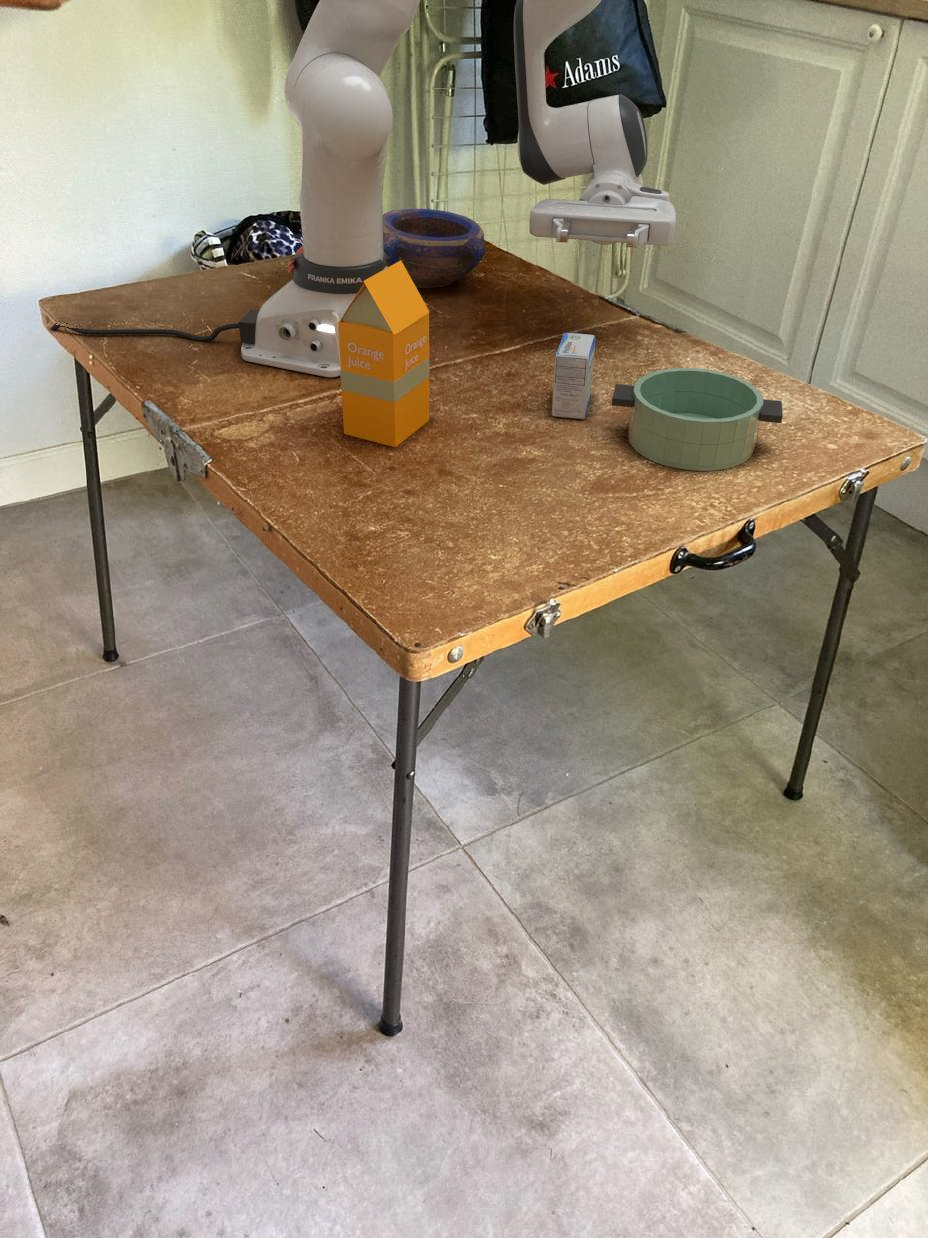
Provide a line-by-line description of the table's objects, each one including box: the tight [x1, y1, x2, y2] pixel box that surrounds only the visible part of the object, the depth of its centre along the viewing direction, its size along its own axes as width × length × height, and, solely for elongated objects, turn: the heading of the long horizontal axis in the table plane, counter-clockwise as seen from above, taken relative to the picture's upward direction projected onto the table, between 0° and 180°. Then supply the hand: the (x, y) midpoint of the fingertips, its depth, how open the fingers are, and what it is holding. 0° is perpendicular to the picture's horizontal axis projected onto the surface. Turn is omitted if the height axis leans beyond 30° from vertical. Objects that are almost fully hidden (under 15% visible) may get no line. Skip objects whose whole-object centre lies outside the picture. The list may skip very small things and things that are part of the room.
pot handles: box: [611, 383, 784, 424], centre depth 131 cm, size 20×4×1 cm, turn 78°
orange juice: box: [338, 261, 431, 448], centre depth 130 cm, size 8×9×20 cm
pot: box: [627, 367, 764, 472], centre depth 132 cm, size 16×16×6 cm
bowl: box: [383, 208, 486, 289], centre depth 179 cm, size 18×18×10 cm
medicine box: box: [551, 332, 596, 420], centre depth 139 cm, size 8×4×9 cm, turn 168°
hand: (596, 238), depth 143 cm, fingers open, 8 cm apart
